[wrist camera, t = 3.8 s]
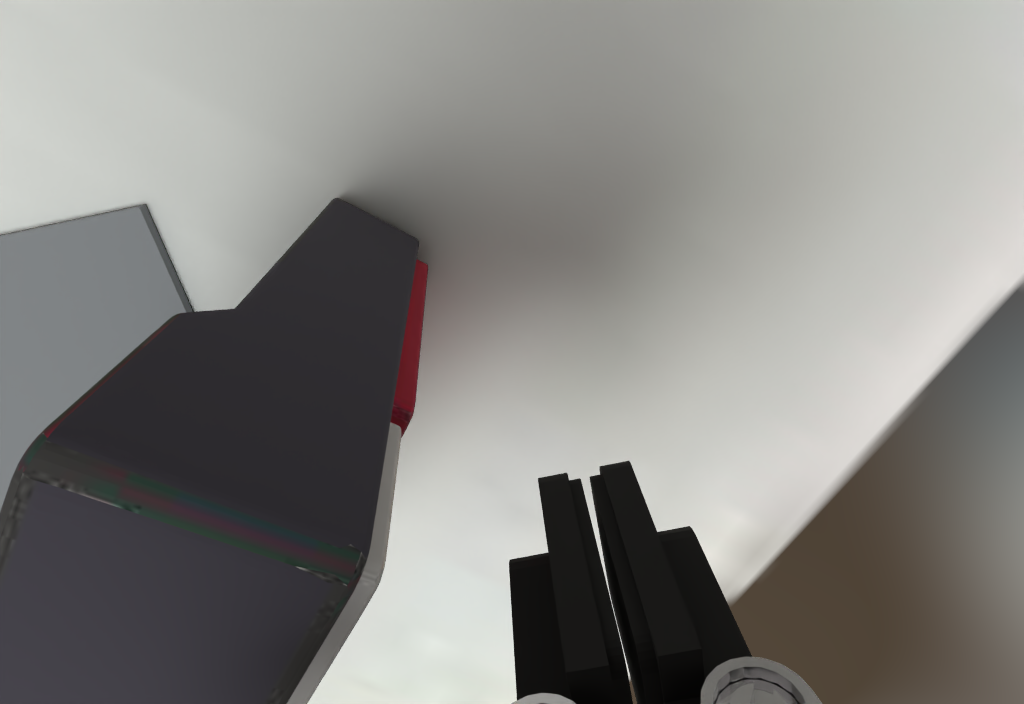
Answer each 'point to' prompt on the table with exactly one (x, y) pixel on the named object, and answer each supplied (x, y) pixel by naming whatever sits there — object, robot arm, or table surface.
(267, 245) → the table surface
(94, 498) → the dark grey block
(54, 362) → the mat
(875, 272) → the table surface
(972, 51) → the table surface
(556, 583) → the robot arm
